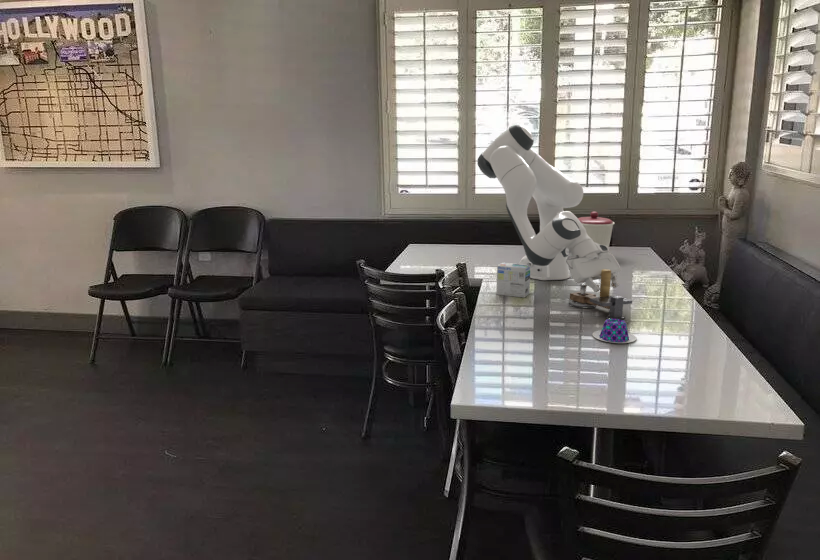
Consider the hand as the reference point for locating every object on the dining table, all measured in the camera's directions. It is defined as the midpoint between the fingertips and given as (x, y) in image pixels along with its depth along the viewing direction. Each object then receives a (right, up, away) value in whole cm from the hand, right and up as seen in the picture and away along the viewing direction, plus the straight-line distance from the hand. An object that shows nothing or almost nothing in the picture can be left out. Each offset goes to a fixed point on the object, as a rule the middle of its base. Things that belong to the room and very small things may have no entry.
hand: (607, 288), depth 213 cm
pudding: (-6, -14, -25) cm, 29 cm away
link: (-2, -5, +4) cm, 7 cm away
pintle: (-6, -5, +9) cm, 12 cm away
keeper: (0, -9, -5) cm, 10 cm away
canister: (+19, +13, +87) cm, 90 cm away
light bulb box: (-27, -2, +22) cm, 35 cm away
